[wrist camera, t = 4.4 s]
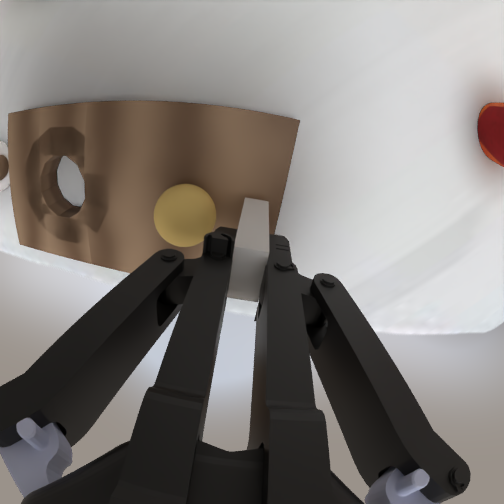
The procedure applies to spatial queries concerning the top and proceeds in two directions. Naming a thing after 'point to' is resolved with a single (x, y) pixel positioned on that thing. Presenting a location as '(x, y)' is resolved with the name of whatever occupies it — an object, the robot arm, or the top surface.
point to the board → (139, 172)
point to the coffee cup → (492, 131)
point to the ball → (184, 215)
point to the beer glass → (4, 166)
